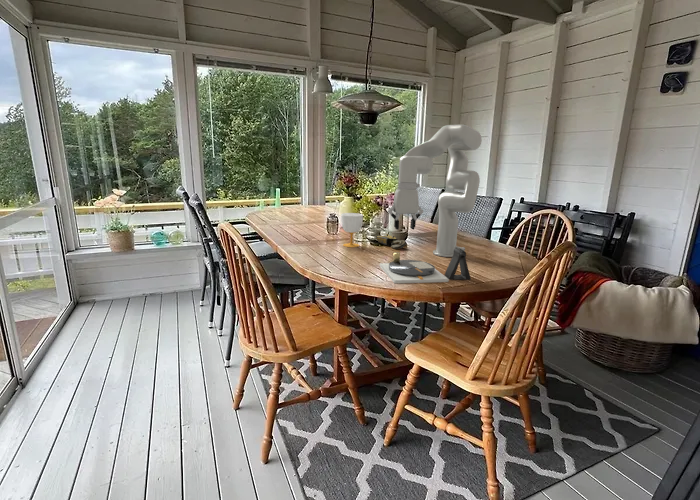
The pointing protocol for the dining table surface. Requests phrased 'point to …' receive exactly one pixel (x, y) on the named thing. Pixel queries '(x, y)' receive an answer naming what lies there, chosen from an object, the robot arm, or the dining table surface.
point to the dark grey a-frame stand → (457, 259)
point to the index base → (413, 279)
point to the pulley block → (391, 241)
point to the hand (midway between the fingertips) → (404, 228)
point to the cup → (351, 225)
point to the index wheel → (410, 267)
